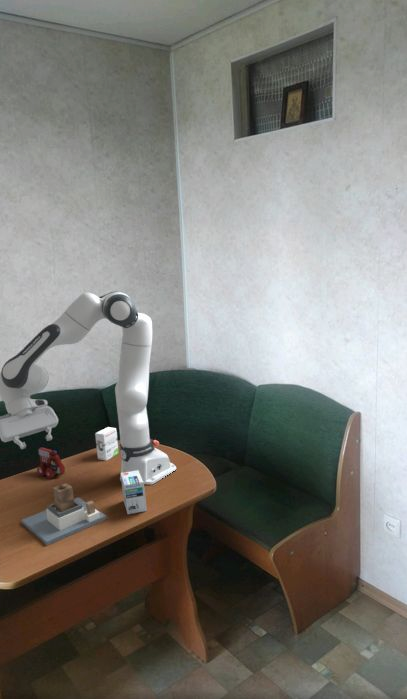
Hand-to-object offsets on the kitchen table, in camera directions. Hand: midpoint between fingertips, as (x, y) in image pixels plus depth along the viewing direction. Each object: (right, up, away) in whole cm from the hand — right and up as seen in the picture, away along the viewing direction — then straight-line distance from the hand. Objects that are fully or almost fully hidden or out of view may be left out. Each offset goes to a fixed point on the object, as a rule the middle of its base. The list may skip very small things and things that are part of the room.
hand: (37, 443), depth 182 cm
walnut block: (+12, -20, -8) cm, 25 cm away
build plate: (+11, -24, -6) cm, 27 cm away
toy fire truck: (-4, -18, +31) cm, 36 cm away
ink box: (+16, -14, +46) cm, 50 cm away
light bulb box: (+33, -22, +1) cm, 40 cm away
